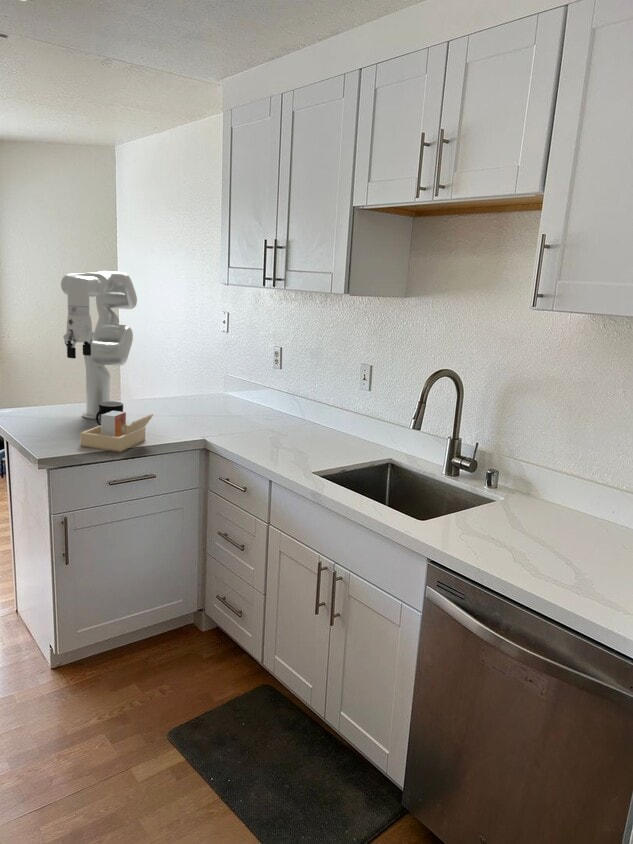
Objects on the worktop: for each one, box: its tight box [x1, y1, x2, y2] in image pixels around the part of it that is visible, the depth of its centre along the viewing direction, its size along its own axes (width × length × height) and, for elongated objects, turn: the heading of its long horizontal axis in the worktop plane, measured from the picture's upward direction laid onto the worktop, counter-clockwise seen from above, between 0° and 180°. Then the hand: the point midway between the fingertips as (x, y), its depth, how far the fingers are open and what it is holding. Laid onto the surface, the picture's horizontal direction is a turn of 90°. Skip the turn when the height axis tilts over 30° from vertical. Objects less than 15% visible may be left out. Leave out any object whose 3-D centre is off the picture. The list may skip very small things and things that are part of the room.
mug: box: [95, 400, 124, 426], centre depth 242 cm, size 12×9×10 cm
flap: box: [124, 413, 154, 435], centre depth 222 cm, size 14×6×1 cm
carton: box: [79, 424, 146, 453], centre depth 225 cm, size 18×15×5 cm
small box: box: [100, 411, 127, 437], centre depth 224 cm, size 8×6×10 cm
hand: (79, 356), depth 234 cm, fingers open, 9 cm apart
